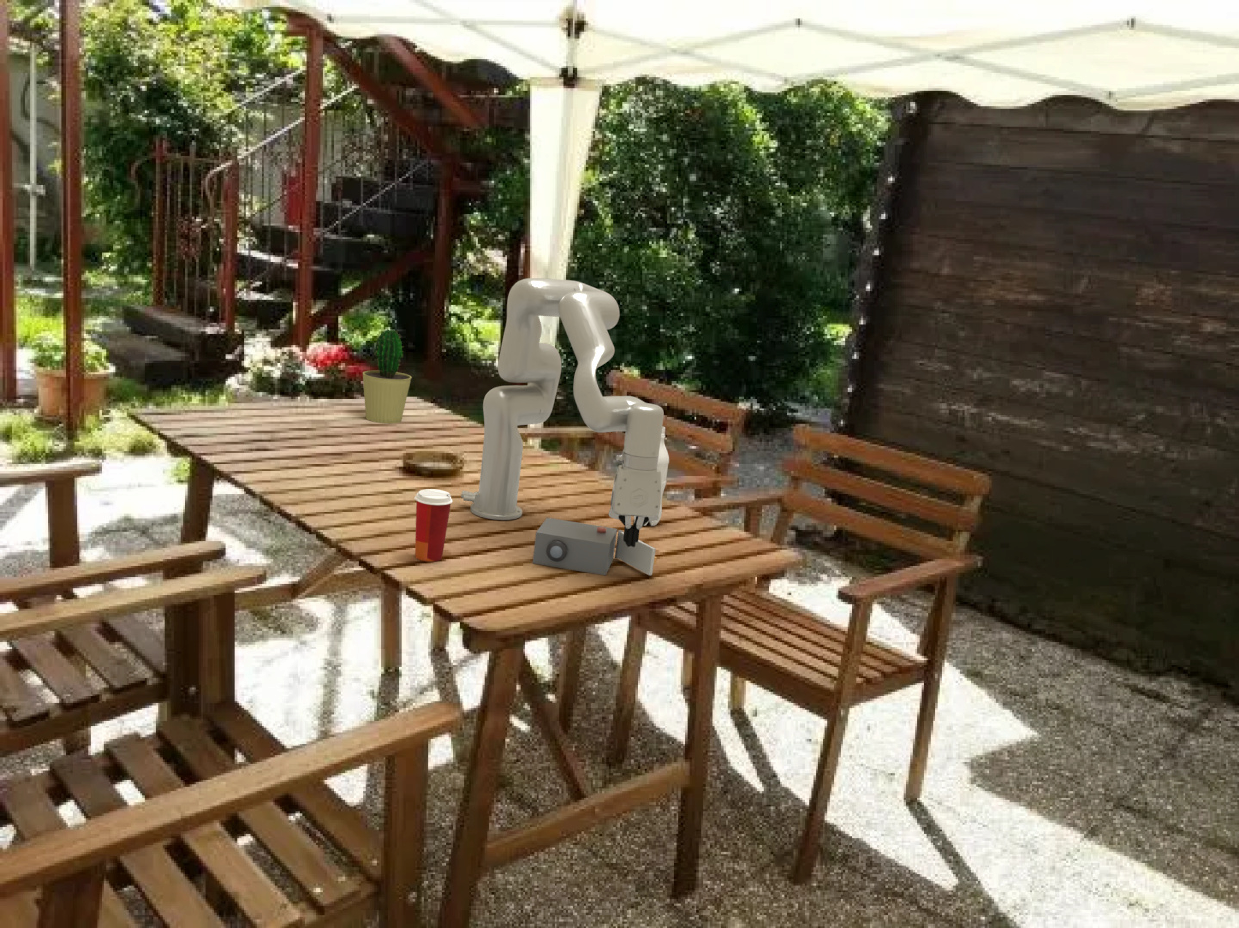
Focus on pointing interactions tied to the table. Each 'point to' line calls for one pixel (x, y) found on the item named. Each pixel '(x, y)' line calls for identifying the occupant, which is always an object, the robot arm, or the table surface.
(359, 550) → the table surface
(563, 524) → the camera body
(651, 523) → the water bottle
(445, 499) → the paper cup
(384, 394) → the potted cactus
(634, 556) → the side door
